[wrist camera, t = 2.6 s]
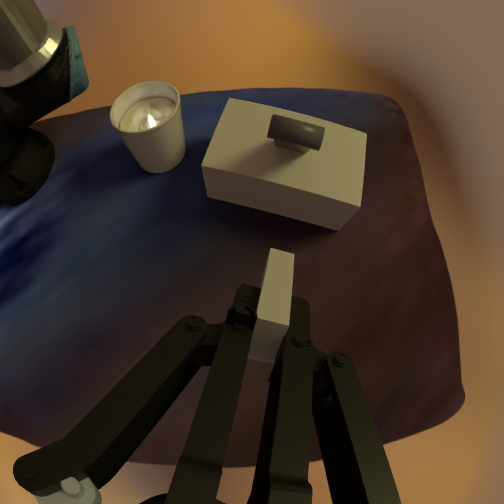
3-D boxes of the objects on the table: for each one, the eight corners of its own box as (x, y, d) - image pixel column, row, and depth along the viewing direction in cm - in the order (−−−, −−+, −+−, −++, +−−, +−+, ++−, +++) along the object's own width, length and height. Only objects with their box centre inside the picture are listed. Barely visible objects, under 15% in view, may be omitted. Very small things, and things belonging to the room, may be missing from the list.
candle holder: (194, 128, 48) (185, 78, 36) (186, 178, 45) (172, 131, 34) (139, 130, 48) (120, 83, 36) (127, 178, 45) (100, 135, 34)
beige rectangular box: (207, 196, 45) (201, 165, 36) (230, 133, 48) (229, 96, 39) (338, 231, 44) (360, 206, 36) (348, 163, 47) (366, 132, 39)
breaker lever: (270, 147, 37) (266, 135, 26) (274, 130, 37) (272, 111, 26) (308, 157, 37) (320, 149, 26) (312, 140, 36) (326, 125, 26)
